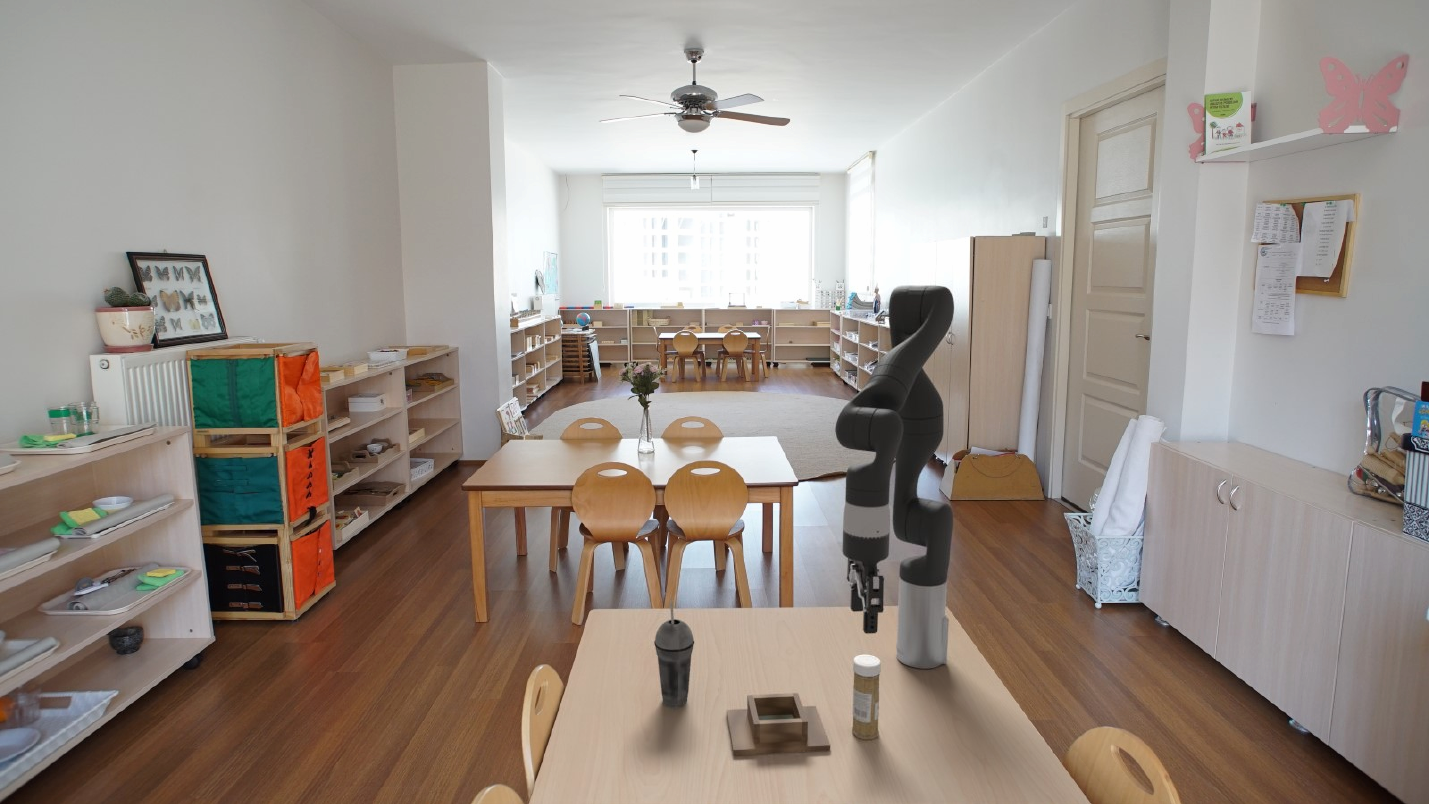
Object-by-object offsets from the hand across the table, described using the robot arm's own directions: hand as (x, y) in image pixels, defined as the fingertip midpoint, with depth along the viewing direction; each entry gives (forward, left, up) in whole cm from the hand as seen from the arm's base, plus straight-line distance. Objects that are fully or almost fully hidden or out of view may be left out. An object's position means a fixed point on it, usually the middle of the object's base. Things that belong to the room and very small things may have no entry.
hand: (863, 621), depth 134 cm
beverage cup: (+31, -13, -20) cm, 39 cm away
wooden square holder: (+14, -1, -20) cm, 25 cm away
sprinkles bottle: (-1, 0, -20) cm, 20 cm away
